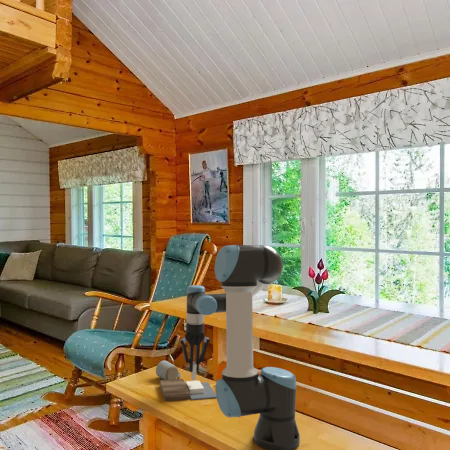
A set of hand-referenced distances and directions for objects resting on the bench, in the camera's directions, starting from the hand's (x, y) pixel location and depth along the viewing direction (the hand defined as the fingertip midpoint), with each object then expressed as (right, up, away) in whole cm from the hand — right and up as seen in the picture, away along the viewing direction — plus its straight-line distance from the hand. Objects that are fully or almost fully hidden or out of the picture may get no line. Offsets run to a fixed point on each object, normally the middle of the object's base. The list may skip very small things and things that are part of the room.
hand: (193, 378), depth 186 cm
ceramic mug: (-12, -5, +14) cm, 19 cm away
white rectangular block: (0, -5, +1) cm, 5 cm away
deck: (-8, -5, -2) cm, 10 cm away
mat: (+3, -5, 0) cm, 6 cm away
